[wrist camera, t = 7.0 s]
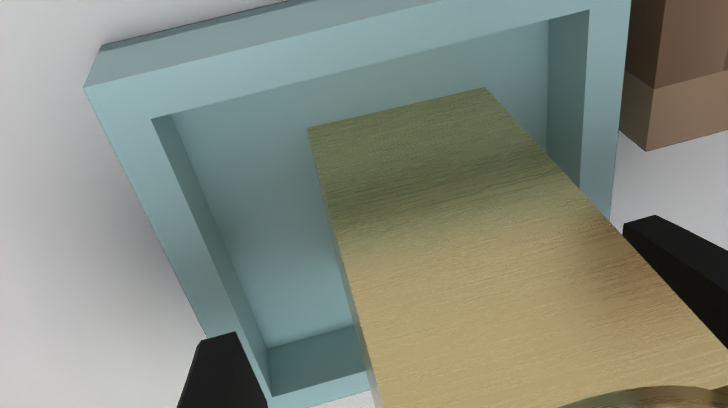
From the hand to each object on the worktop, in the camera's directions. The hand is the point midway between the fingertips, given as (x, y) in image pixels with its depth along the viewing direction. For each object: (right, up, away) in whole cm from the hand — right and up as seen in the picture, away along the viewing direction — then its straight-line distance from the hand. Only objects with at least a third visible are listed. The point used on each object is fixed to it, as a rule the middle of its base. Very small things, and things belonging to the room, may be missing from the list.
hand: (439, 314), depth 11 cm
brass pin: (0, +3, +3) cm, 4 cm away
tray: (-1, +3, +4) cm, 4 cm away
